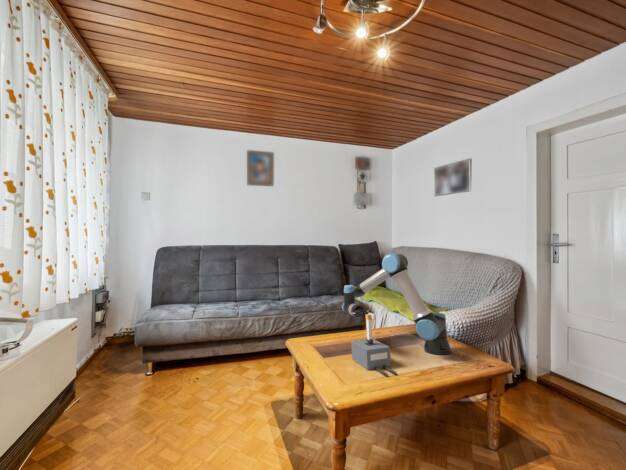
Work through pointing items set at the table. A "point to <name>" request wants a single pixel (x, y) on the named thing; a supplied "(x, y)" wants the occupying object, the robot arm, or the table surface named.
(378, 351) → the grey power plug
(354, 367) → the table surface
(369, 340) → the breaker lever
